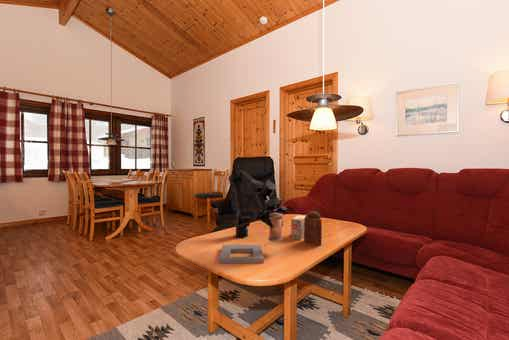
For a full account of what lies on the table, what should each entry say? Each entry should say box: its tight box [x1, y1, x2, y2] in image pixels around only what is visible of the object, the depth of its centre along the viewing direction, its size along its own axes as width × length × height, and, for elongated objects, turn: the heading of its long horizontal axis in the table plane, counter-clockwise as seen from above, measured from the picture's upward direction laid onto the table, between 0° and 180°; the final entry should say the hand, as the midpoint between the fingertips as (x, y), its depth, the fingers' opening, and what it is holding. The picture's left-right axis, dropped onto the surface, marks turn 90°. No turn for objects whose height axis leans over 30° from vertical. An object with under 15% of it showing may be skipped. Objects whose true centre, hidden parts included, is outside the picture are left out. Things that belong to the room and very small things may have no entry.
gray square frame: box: [218, 244, 265, 264], centre depth 123 cm, size 19×20×2 cm
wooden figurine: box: [303, 210, 323, 246], centre depth 144 cm, size 12×6×18 cm, turn 46°
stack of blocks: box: [290, 214, 306, 241], centre depth 159 cm, size 21×6×12 cm, turn 150°
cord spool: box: [268, 213, 284, 243], centre depth 127 cm, size 7×7×13 cm
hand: (277, 226), depth 125 cm, fingers closed on cord spool, 6 cm apart
